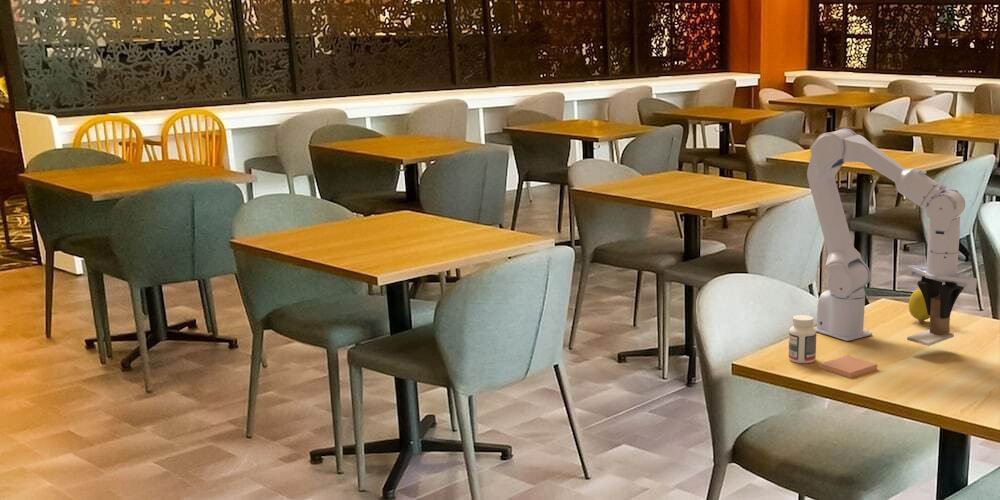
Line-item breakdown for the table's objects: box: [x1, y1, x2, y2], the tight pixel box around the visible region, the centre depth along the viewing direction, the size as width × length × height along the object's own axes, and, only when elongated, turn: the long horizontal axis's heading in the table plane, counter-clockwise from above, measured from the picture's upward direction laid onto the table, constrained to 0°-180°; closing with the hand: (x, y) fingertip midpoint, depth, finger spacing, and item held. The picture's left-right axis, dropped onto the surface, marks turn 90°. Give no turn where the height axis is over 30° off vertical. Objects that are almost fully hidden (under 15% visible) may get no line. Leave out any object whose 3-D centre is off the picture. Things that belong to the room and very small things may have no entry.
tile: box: [820, 354, 878, 379], centre depth 202 cm, size 7×2×8 cm
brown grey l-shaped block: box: [906, 295, 955, 347], centre depth 209 cm, size 5×8×8 cm, turn 122°
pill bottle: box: [788, 314, 817, 364], centre depth 207 cm, size 5×5×9 cm
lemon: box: [908, 288, 930, 323], centre depth 229 cm, size 6×6×8 cm
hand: (938, 316), depth 210 cm, fingers closed on brown grey l-shaped block, 2 cm apart
